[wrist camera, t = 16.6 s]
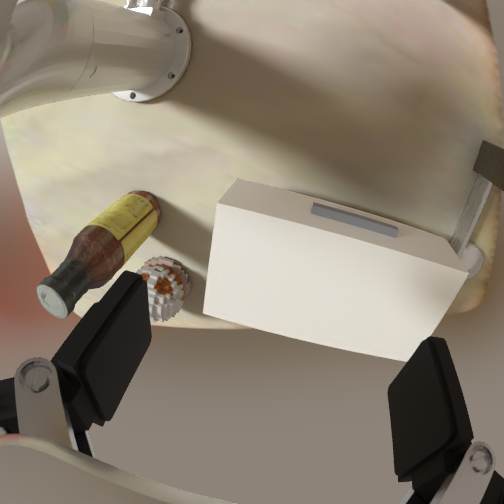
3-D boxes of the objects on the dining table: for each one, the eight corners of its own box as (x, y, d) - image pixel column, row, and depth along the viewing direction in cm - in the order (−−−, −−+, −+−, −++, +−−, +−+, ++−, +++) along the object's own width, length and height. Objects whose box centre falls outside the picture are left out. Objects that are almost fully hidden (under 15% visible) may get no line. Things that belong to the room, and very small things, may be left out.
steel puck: (454, 237, 34) (459, 244, 32) (482, 243, 33) (488, 250, 32) (442, 270, 36) (446, 278, 35) (470, 274, 36) (475, 281, 34)
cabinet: (249, 159, 34) (218, 193, 24) (434, 213, 33) (472, 266, 23) (231, 254, 41) (202, 313, 31) (395, 296, 39) (411, 362, 29)
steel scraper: (482, 140, 27) (518, 156, 20) (496, 148, 27) (532, 165, 20) (431, 267, 36) (449, 305, 29) (444, 271, 36) (464, 309, 29)
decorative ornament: (194, 264, 43) (147, 339, 30) (188, 305, 47) (148, 379, 34) (144, 248, 44) (86, 313, 31) (143, 289, 48) (95, 355, 35)
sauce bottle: (117, 196, 40) (15, 273, 23) (151, 182, 38) (45, 261, 21) (136, 237, 43) (50, 327, 26) (171, 226, 41) (85, 325, 24)
